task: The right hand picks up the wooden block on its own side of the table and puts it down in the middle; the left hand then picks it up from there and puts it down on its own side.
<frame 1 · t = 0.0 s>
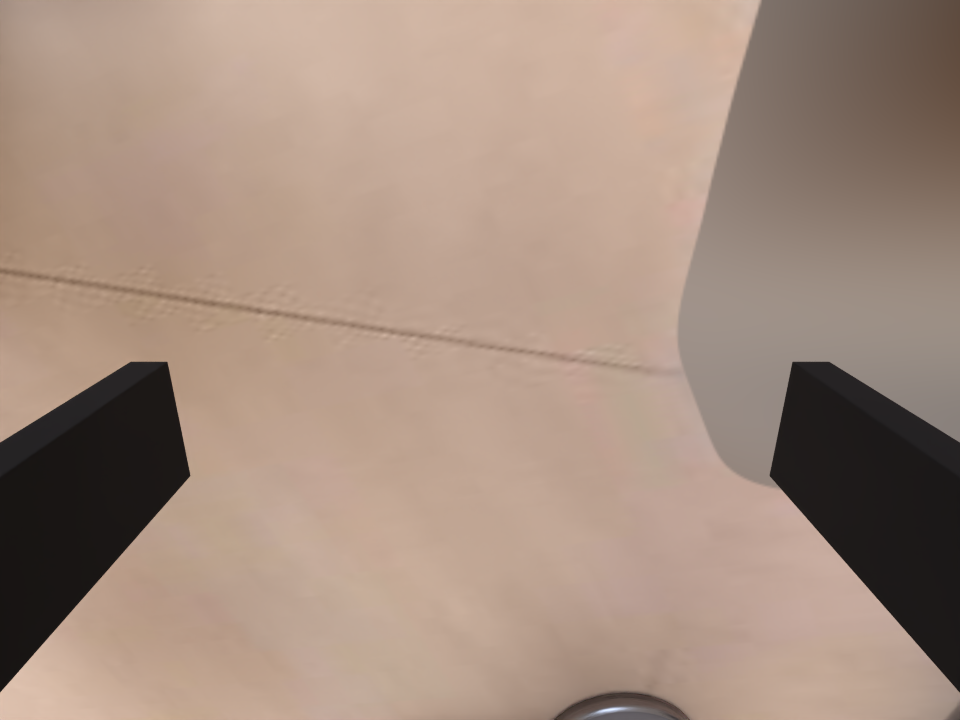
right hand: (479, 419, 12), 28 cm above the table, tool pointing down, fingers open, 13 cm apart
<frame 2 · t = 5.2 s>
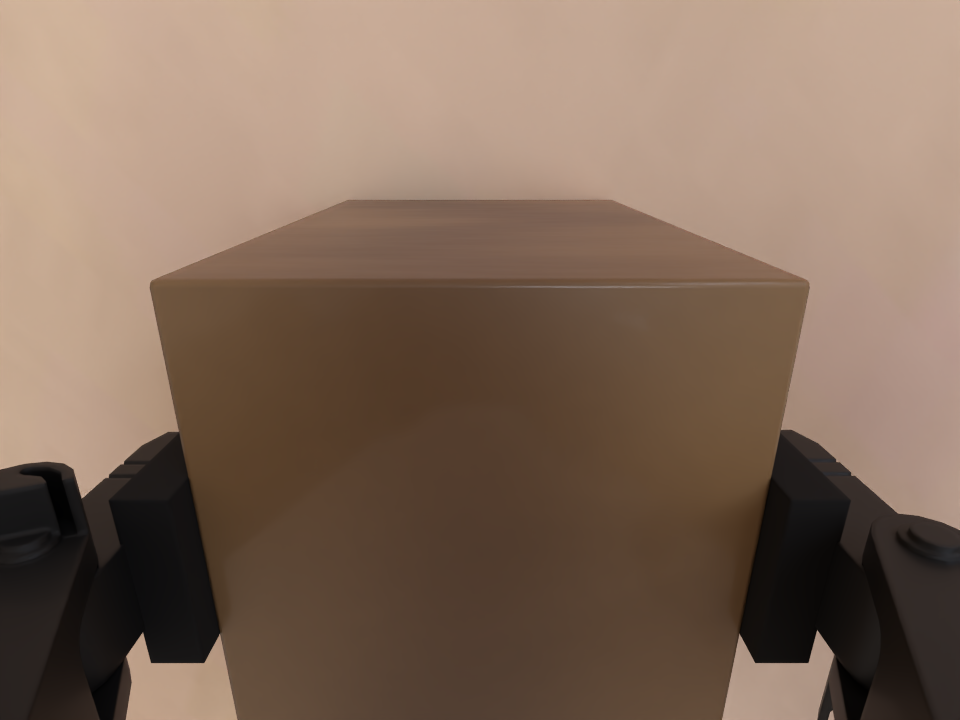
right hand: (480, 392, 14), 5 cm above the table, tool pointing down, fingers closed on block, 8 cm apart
block: (479, 332, 18), on the table, touching right hand
when the right hand's fingers open (6 cm above the table, at t = 11.4 s): block drops 1 cm, on the table.
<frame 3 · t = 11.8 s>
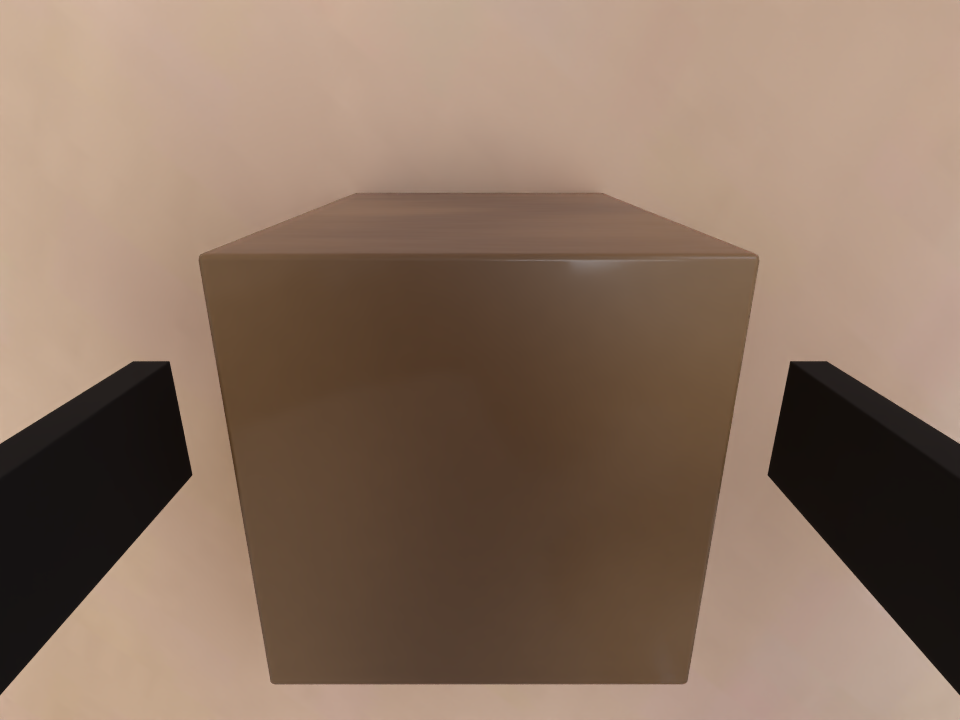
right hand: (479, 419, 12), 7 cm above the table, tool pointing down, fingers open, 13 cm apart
block: (479, 317, 19), on the table
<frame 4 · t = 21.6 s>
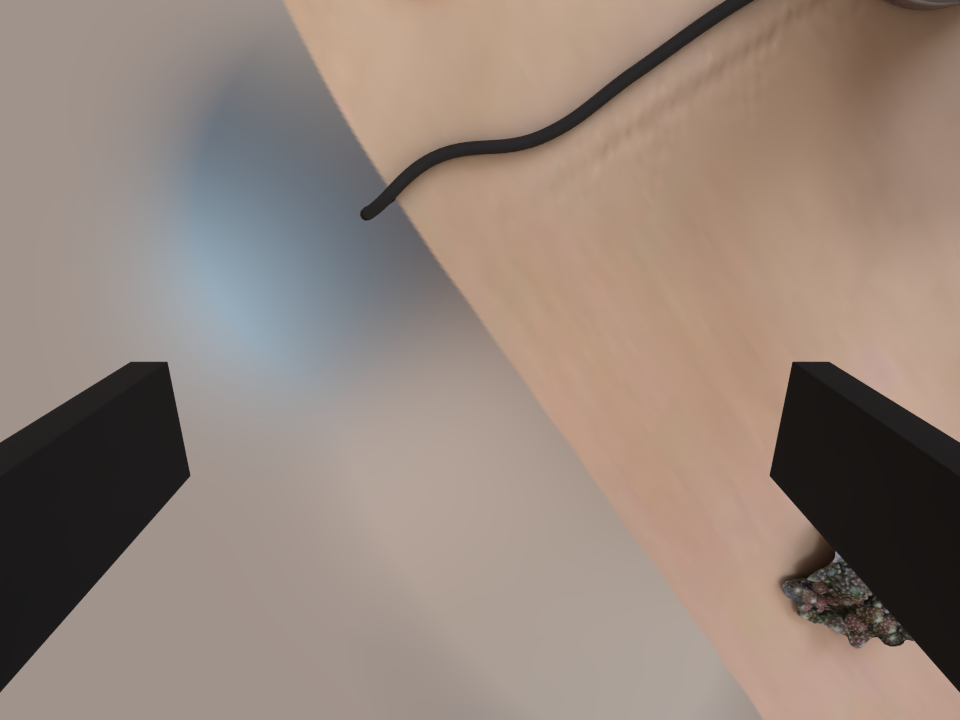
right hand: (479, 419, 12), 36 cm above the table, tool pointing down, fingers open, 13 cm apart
coral: (864, 564, 58), on the table
when the left hand's fingers open (6 cm above the table, at t = 32.8 s): block drops 1 cm, on the table.
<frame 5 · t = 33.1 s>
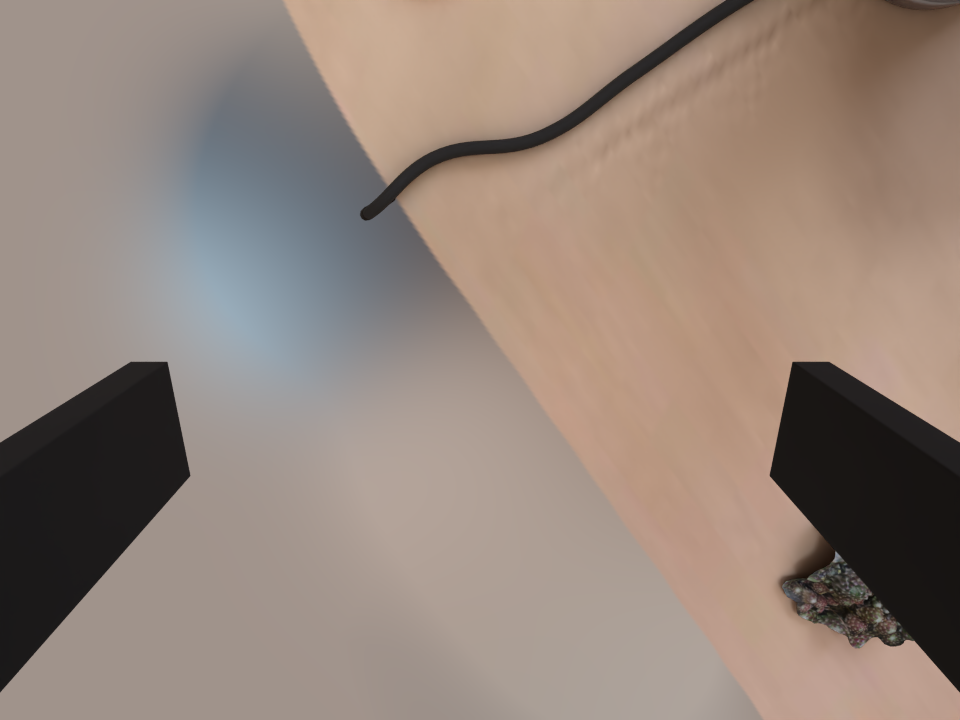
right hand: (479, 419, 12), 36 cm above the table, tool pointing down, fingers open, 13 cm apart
coral: (864, 564, 58), on the table
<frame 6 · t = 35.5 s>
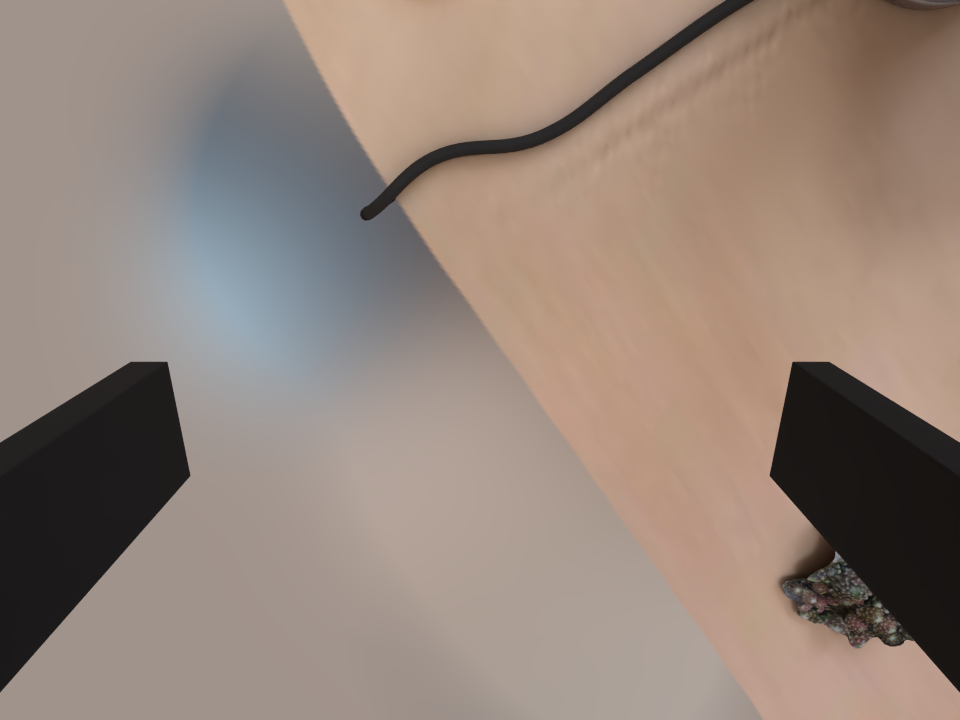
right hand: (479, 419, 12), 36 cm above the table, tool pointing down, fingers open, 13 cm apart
coral: (864, 564, 58), on the table
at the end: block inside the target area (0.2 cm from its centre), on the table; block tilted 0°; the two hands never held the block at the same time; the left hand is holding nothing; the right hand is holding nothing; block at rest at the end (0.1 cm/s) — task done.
